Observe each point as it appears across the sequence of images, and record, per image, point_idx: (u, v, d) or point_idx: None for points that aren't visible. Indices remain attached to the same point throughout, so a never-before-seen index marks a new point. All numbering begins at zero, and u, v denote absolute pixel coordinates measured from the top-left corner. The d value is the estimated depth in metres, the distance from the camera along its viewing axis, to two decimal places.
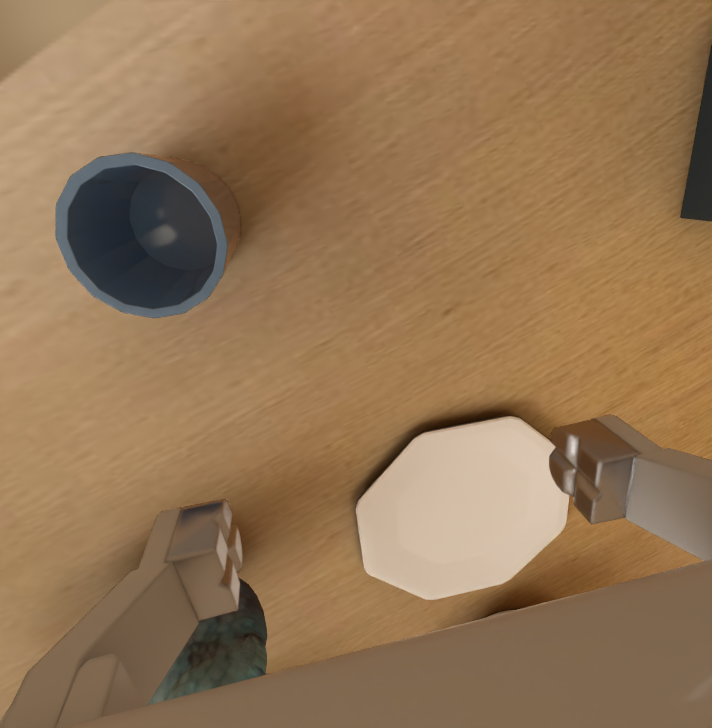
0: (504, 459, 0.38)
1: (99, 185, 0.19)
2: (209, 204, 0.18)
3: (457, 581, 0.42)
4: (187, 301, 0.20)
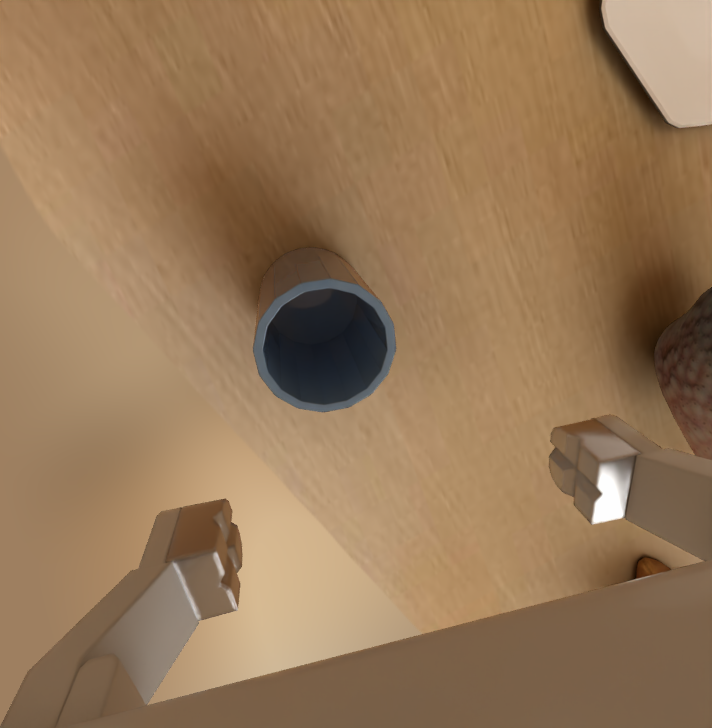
0: None
1: (282, 372, 0.23)
2: (292, 291, 0.19)
3: None
4: (382, 319, 0.20)
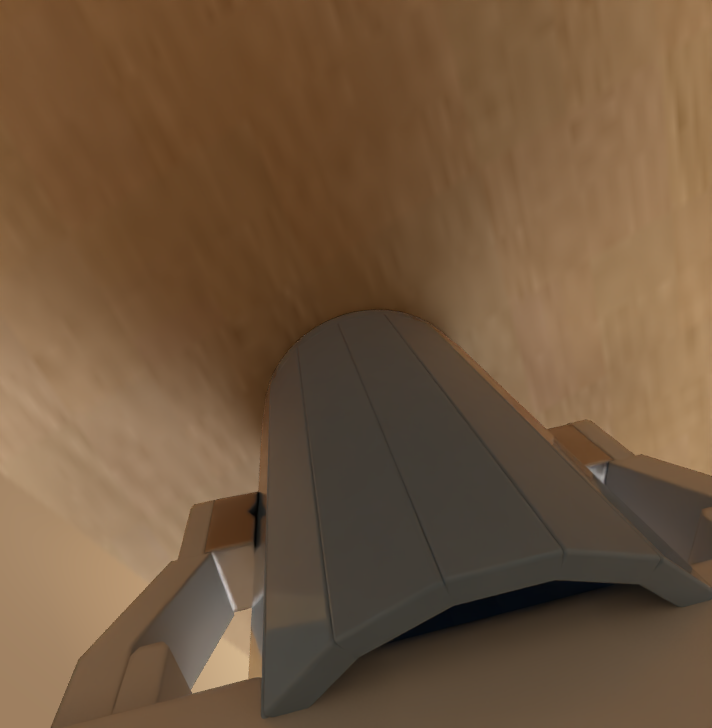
0: None
1: None
2: (408, 611, 0.04)
3: None
4: None
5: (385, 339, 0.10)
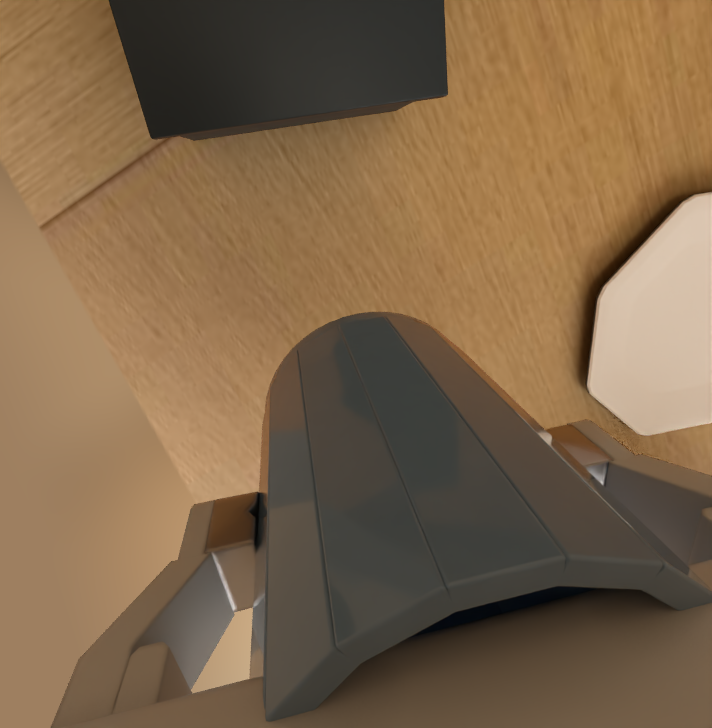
0: (652, 283, 0.32)
1: None
2: (411, 618, 0.04)
3: None
4: None
5: (386, 342, 0.10)
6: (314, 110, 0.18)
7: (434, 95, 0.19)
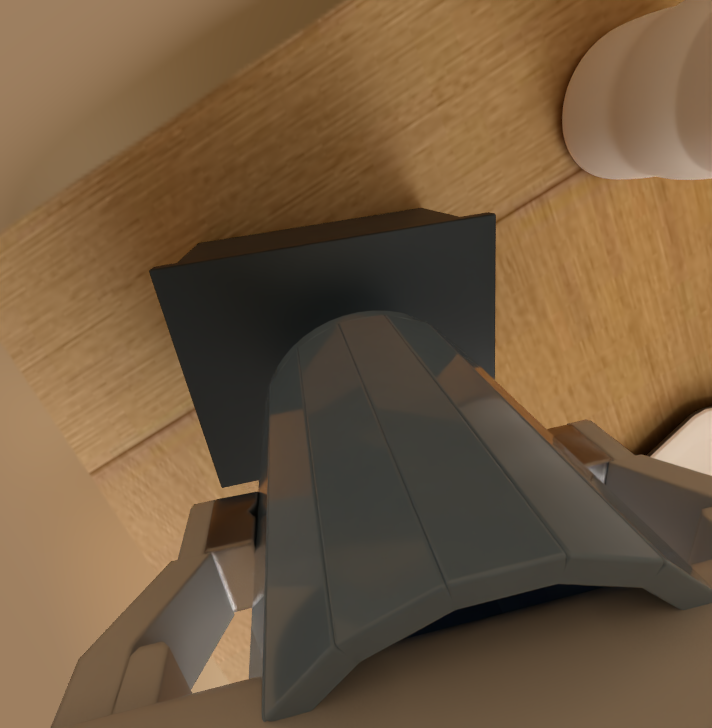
0: None
1: None
2: (410, 616, 0.04)
3: None
4: None
5: (386, 340, 0.10)
6: None
7: None
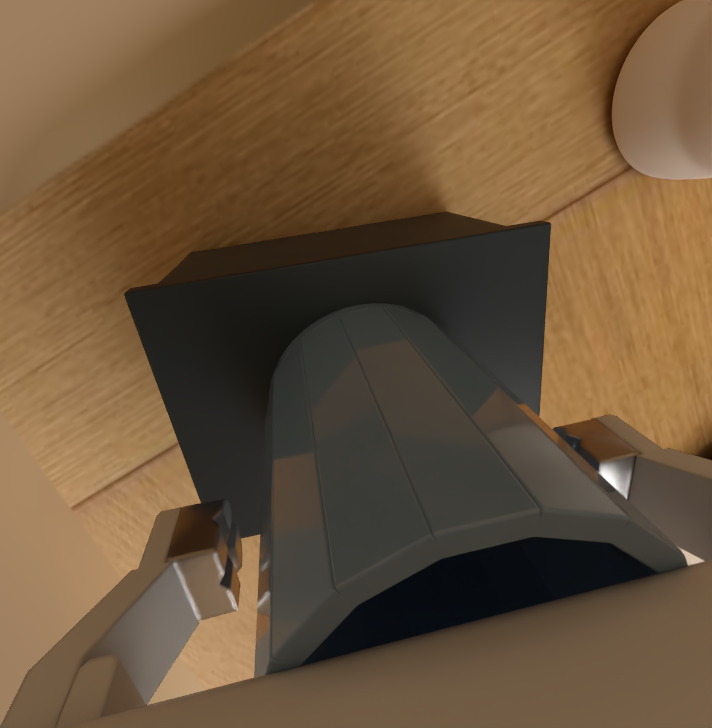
0: None
1: (330, 655, 0.09)
2: (401, 563, 0.05)
3: None
4: None
5: (384, 330, 0.11)
6: None
7: None
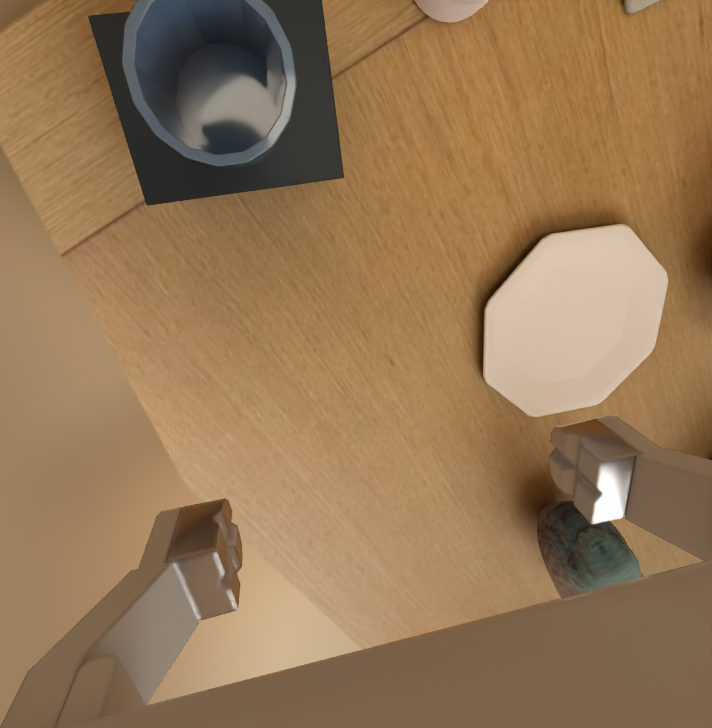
0: (528, 298, 0.43)
1: (175, 133, 0.20)
2: None
3: (645, 324, 0.46)
4: (276, 37, 0.17)
5: None
6: (254, 187, 0.28)
7: (334, 178, 0.28)
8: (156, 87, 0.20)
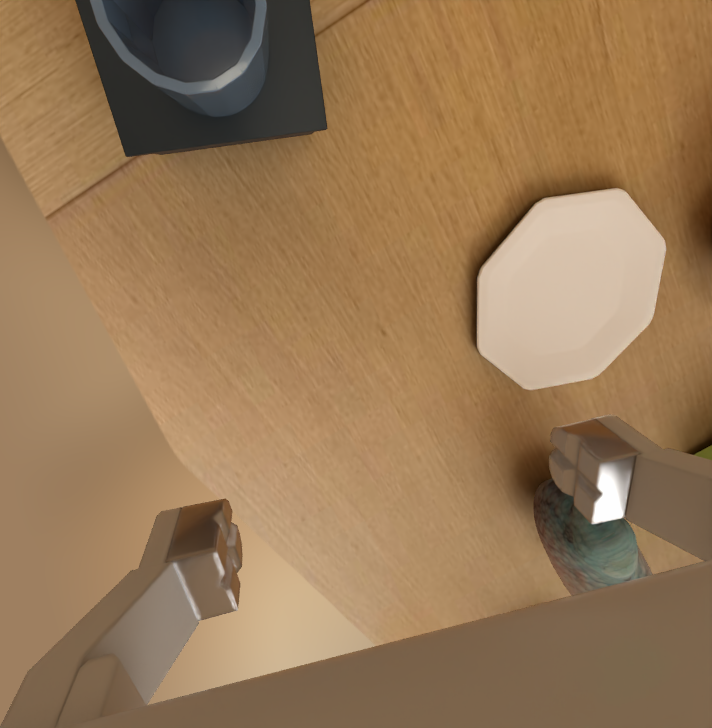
0: (522, 266, 0.42)
1: None
2: None
3: (643, 294, 0.45)
4: None
5: None
6: (236, 138, 0.27)
7: (317, 129, 0.28)
8: (126, 18, 0.20)
